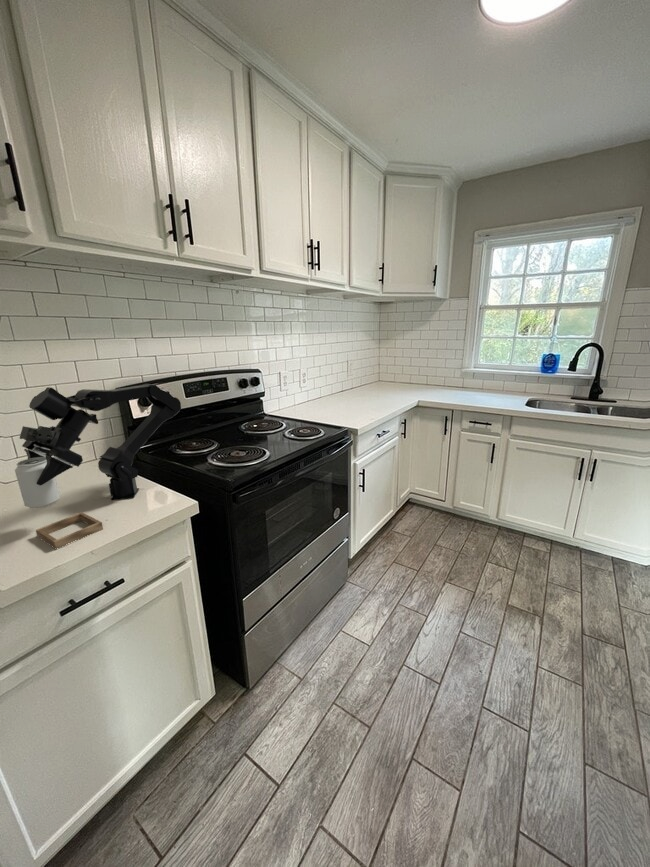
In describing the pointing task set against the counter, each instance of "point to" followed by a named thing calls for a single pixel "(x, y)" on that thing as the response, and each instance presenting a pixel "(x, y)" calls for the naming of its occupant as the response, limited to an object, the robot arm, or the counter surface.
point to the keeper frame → (56, 543)
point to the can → (30, 489)
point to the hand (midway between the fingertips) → (31, 481)
